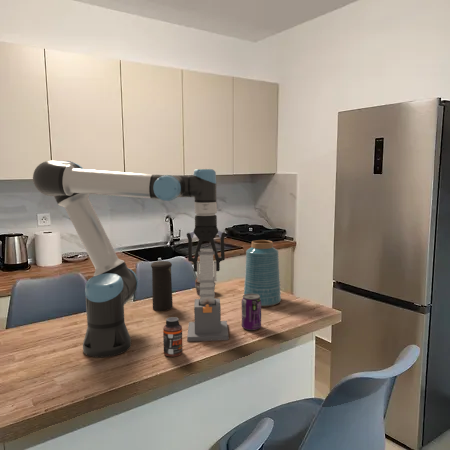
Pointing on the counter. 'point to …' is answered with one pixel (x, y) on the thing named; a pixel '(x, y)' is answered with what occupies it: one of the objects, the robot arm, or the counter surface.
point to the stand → (207, 323)
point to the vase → (263, 272)
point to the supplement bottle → (172, 337)
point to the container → (161, 285)
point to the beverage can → (251, 311)
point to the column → (206, 277)
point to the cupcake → (198, 286)
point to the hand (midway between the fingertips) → (206, 280)
